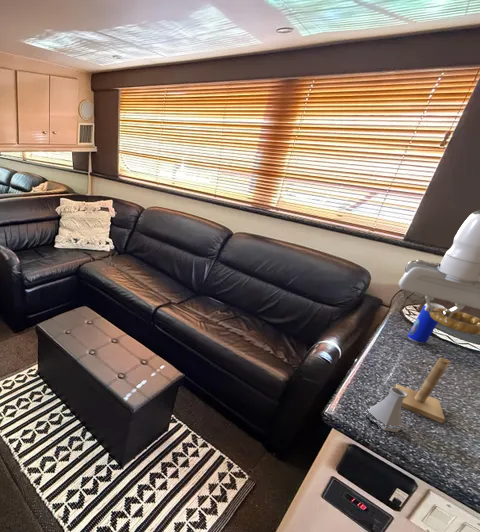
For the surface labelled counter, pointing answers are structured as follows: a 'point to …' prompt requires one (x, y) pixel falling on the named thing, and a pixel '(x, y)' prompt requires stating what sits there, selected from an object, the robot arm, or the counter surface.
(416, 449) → the counter surface
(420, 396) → the stand
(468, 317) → the ring
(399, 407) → the flask
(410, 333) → the beverage can
